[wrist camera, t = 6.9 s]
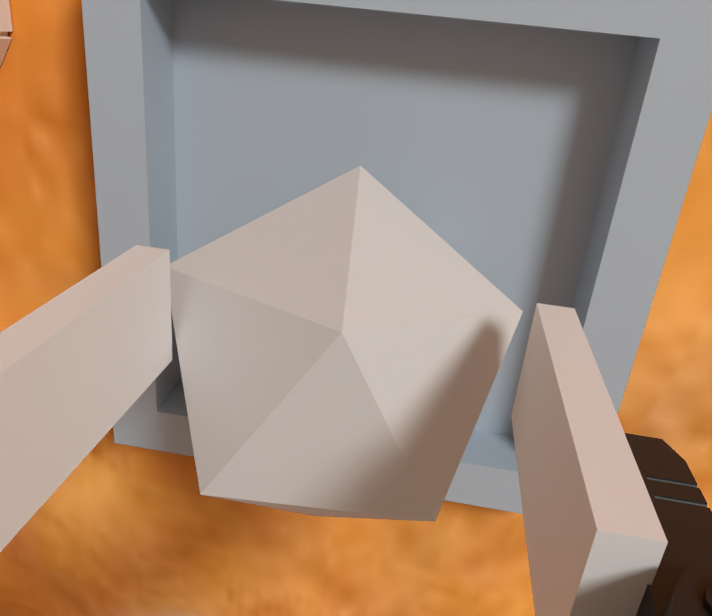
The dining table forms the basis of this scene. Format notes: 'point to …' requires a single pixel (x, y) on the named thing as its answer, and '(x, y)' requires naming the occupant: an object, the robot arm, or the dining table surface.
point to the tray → (412, 153)
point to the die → (335, 356)
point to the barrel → (4, 28)
